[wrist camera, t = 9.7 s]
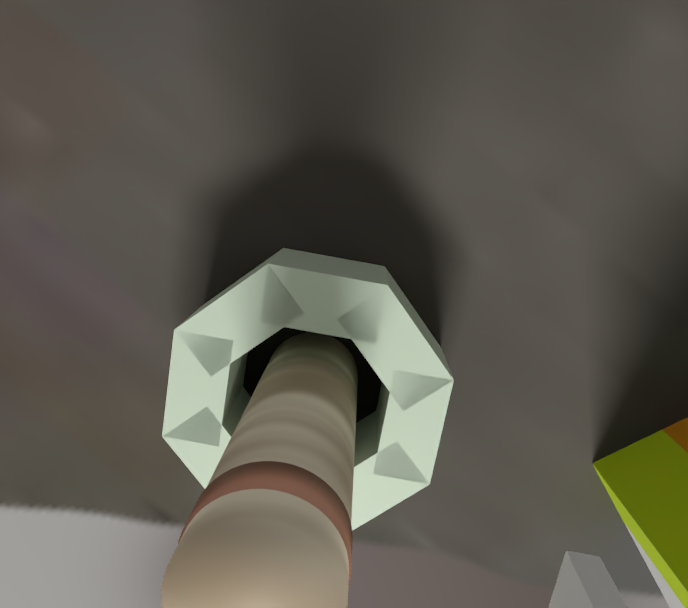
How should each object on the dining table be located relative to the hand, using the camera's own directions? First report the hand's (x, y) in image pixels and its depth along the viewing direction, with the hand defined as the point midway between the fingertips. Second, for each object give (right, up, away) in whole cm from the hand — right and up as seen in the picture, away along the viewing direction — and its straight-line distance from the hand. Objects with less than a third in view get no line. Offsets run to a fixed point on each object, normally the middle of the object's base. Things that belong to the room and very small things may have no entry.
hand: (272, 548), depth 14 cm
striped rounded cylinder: (0, +2, +13) cm, 13 cm away
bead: (0, +3, +13) cm, 13 cm away
